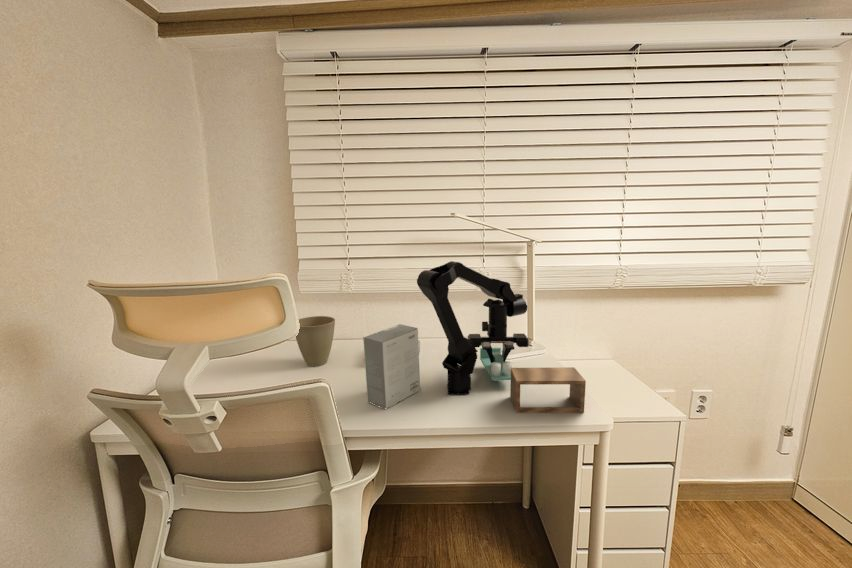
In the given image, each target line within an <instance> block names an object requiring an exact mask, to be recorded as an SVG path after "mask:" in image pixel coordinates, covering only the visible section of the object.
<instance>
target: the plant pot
mask: <svg viewBox="0 0 852 568" xmlns="http://www.w3.org/2000/svg"><path fill="white" fill-rule="evenodd" d="M299 323H300V329H299V333H298V335H297V336H296V337H295V339H296V343H297V346H298V349H299V351H300V354H301V356H302V358H303V360H304V363H305V364H306V366H308V367H320V365H321V366H324V365H325V364H327V362H328V360H329V356H330V354H331V350H332V347H333V341H334V334H335V326H336V318H335V317H331V316H325V315H315V316H308V317H301V318H299ZM323 364H324V365H323Z"/></svg>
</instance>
